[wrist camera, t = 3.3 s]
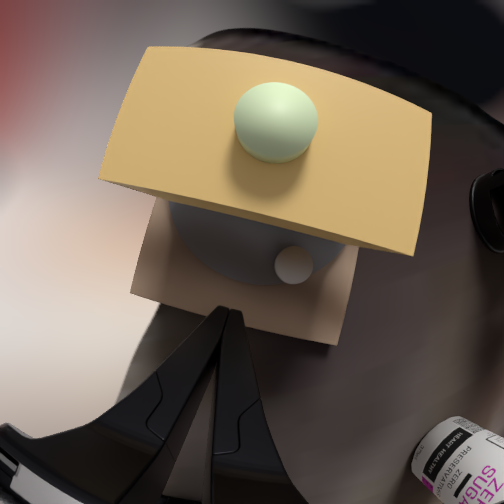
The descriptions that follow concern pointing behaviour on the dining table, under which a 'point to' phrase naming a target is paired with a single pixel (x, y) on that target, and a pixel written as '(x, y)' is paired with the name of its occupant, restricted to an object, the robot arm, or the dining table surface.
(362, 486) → the dining table surface
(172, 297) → the level base
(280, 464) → the robot arm
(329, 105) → the yellow boxy piece
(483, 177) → the french press
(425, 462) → the supplement can
